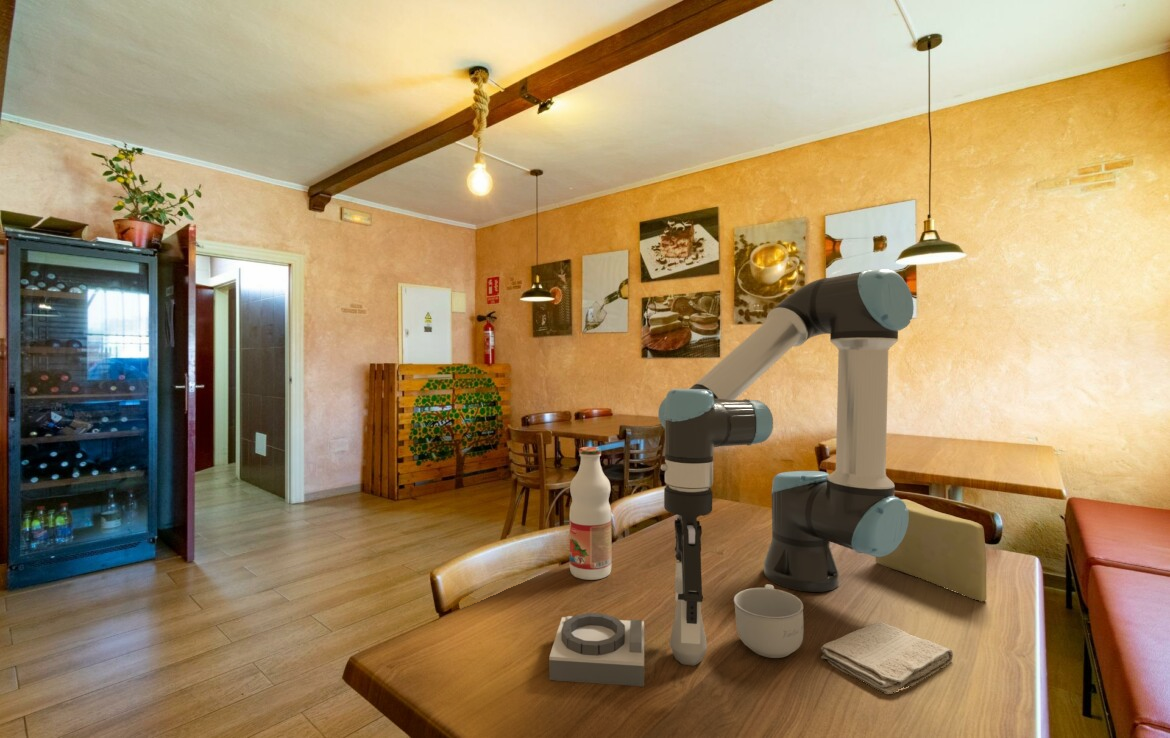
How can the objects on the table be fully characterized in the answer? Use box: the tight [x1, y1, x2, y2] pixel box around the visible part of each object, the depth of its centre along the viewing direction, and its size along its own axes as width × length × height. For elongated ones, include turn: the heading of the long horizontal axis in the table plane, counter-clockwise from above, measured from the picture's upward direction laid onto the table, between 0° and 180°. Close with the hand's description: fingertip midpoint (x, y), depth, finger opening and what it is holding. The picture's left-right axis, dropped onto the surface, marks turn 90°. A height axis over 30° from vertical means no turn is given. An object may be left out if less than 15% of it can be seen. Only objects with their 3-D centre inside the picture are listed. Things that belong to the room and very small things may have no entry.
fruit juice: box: [569, 446, 612, 581], centre depth 116 cm, size 9×9×28 cm
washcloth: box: [820, 621, 954, 695], centre depth 82 cm, size 12×18×3 cm, turn 122°
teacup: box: [733, 584, 804, 659], centre depth 86 cm, size 14×11×8 cm
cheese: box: [875, 498, 987, 602], centre depth 112 cm, size 22×10×15 cm, turn 16°
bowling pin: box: [669, 575, 708, 667], centre depth 82 cm, size 6×6×13 cm
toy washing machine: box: [548, 612, 645, 687], centre depth 82 cm, size 14×12×5 cm
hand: (686, 619), depth 82 cm, fingers open, 13 cm apart
